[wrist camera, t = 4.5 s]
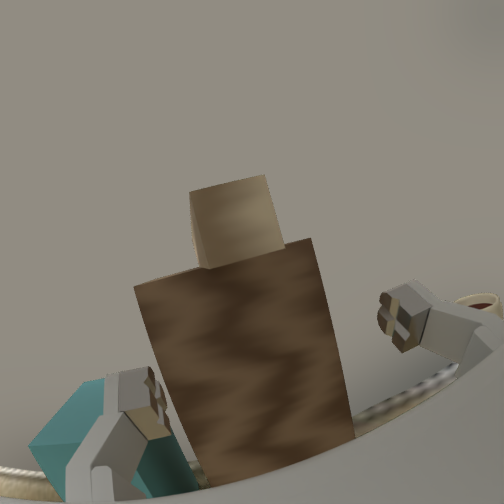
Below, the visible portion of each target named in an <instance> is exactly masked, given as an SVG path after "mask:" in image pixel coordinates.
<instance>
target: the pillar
mask: <svg viewBox="0 0 504 504" xmlns="http://www.w3.org/2000/svg"><path fill="white" fill-rule="evenodd" d="M284 245H285V248H284V249H281V250H277V251H274V252H270V253H266V254H263V255H259V256H256V257H252V258H249V259H245V260H241V261H238V262H234V263H231V264H227V265H223V266H220V267H216V268H213V269H206V268H202V267H197V268H193V269H190V270H186V271H183V272H179V273H175V274H172V275H168V276H165V277H161V278H157V279H154V280H151V281H149V282H146V283H143V284H140V285H137V286H134V291H135V294H136V298H137V301H138V305H139V308H140V311H141V314H142V318H143V321H144V324H145V327H146V330H147V333H148V336H149V339H150V342H151V345H152V348H153V351H154V354H155V357H156V360H157V363H158V365H159V368H160V371H161V373H162V376H163V379H164V382H165V384H166V387H167V389H168V392H169V395H170V397H171V400H172V402H173V405H174V407H175V410H176V412H177V414H178V417H179V419H180V422H181V424H182V426H183V429H184V430H185V433H186V435H187V438H188V440H189V442H190V444H191V446H192V448H193V451H194V453H195V455H196V457H197V459H198V461H199V463H200V465H201V468H202V470H203V472H204V474H205V476H206V478H207V480H208V482H209V483H210V485H211V487H212V488H213V487H217V486H221V485H226V484H230V483H233V482H237V481H241V480H245V479H248V478H252V477H255V476H259V475H262V474H265V473H268V472H272V471H275V470H278V469H281V468H284V467H287V466H289V465H292V464H295V463H298V462H300V461H303V460H306V459H308V458H311V457H314V456H316V455H319V454H321V453H323V452H326V451H328V450H331V449H333V448H335V447H338V446H340V445H342V444H344V443H347V442H349V441H351V440H353V439H355V434H354V428H353V422H352V417H351V411H350V406H349V401H348V396H347V390H346V385H345V380H344V375H343V370H342V366H341V361H340V356H339V352H338V347H337V343H336V338H335V334H334V329H333V325H332V320H331V316H330V312H329V307H328V303H327V299H326V295H325V291H324V287H323V283H322V279H321V275H320V271H319V268H318V263H317V260H316V256H315V252H314V248H313V244H312V241H311V238H307V239H303V240H299V241H295V242H291V243H287V244H284Z"/></svg>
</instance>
